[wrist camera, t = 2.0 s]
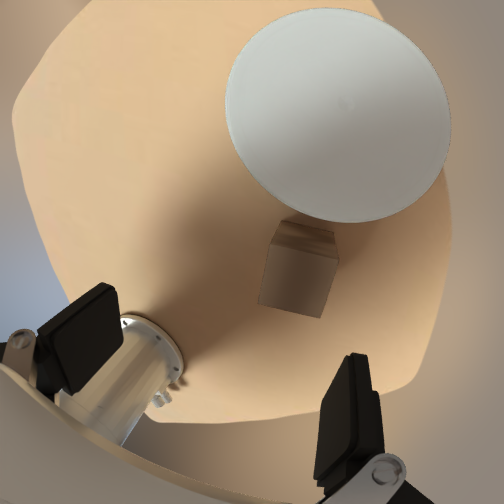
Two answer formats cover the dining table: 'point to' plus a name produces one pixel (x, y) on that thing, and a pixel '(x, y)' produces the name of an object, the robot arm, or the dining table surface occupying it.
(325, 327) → the dining table surface
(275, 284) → the walnut block
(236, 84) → the supplement tub
